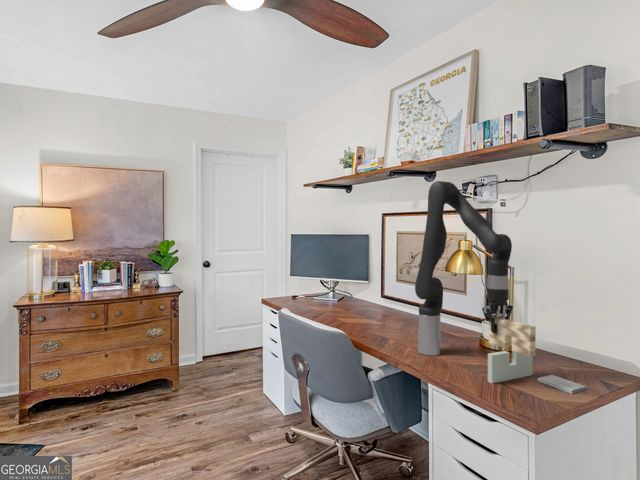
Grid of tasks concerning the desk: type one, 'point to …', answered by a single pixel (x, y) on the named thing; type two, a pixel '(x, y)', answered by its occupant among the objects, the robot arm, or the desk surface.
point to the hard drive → (562, 384)
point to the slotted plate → (508, 366)
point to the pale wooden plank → (514, 336)
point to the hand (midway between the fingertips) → (497, 332)
